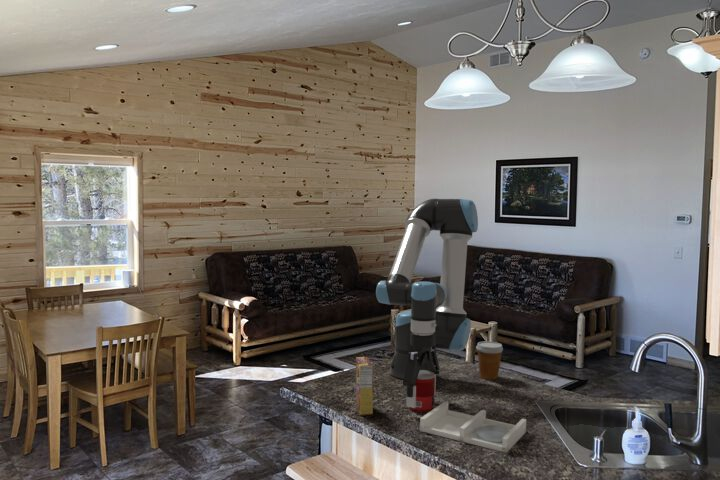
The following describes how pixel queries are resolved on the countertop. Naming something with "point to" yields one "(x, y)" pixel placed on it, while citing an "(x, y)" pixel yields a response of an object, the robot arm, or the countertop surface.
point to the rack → (469, 427)
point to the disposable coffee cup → (489, 359)
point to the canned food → (424, 391)
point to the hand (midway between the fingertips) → (421, 400)
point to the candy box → (364, 385)
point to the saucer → (491, 433)
